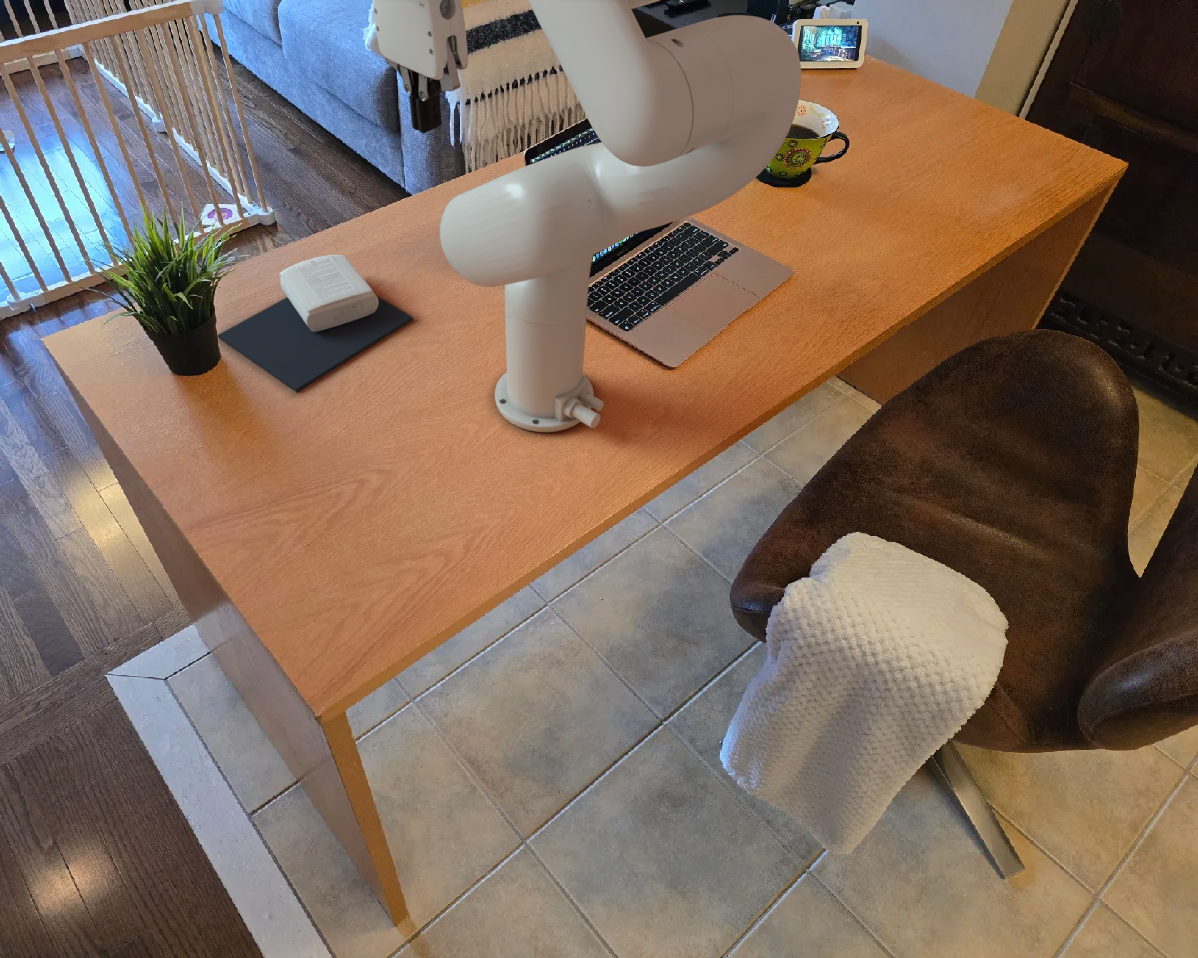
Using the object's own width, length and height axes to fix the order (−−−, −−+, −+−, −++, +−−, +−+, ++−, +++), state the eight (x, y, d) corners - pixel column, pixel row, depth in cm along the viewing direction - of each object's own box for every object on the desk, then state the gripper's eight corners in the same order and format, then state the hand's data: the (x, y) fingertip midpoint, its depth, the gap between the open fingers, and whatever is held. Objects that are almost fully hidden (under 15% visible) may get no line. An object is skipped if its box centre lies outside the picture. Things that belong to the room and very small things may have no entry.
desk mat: (413, 320, 121) (412, 316, 121) (296, 392, 110) (295, 389, 110) (336, 273, 127) (335, 270, 127) (218, 338, 116) (217, 334, 116)
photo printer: (382, 313, 121) (345, 269, 127) (377, 288, 118) (340, 243, 124) (310, 337, 117) (276, 290, 123) (304, 311, 113) (269, 264, 120)
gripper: (490, -35, 88) (496, 138, 102) (388, -73, 94) (406, 96, 107) (437, -17, 84) (450, 161, 98) (333, -57, 90) (359, 117, 103)
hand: (427, 127), depth 103 cm, fingers closed
